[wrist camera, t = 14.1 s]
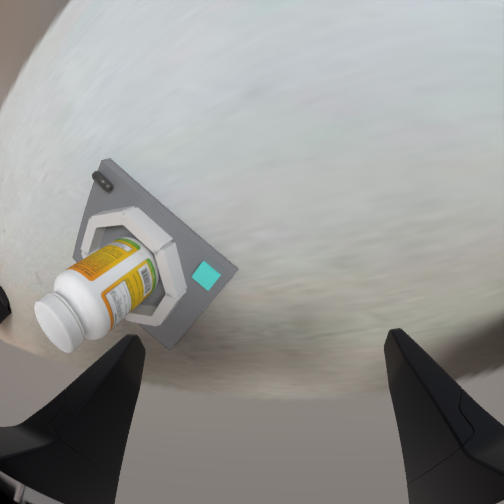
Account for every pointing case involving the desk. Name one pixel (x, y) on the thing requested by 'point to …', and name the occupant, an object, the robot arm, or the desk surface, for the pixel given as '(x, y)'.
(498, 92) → the desk surface
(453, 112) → the desk surface
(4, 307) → the portable speaker
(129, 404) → the robot arm
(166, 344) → the charging dock
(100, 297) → the supplement bottle
